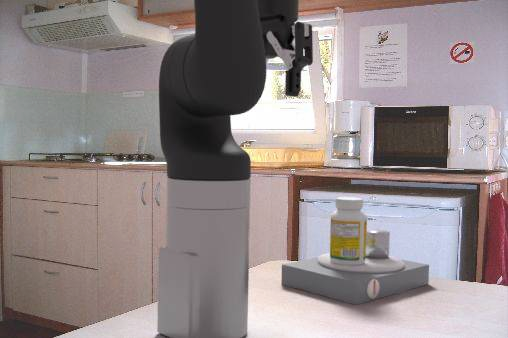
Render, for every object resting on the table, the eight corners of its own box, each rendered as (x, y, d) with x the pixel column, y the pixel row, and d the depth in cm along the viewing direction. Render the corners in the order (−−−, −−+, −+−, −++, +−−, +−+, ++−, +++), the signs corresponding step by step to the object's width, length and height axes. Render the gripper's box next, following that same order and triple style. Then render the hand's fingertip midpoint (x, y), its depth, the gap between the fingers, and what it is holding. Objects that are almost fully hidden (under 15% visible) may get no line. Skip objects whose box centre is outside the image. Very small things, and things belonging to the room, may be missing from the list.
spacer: (379, 260, 88) (379, 234, 88) (357, 256, 91) (358, 231, 91) (394, 257, 91) (394, 232, 90) (373, 253, 94) (373, 228, 93)
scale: (358, 305, 76) (359, 278, 76) (281, 284, 87) (282, 260, 86) (430, 284, 88) (431, 261, 88) (355, 268, 99) (355, 247, 99)
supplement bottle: (348, 267, 82) (350, 201, 82) (322, 261, 87) (323, 197, 86) (373, 263, 86) (375, 198, 85) (346, 256, 90) (348, 195, 89)
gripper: (326, -15, 84) (323, 97, 85) (259, 1, 95) (257, 101, 95) (290, -25, 79) (288, 93, 80) (224, -7, 89) (222, 98, 90)
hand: (271, 97), depth 88 cm, fingers open, 8 cm apart
